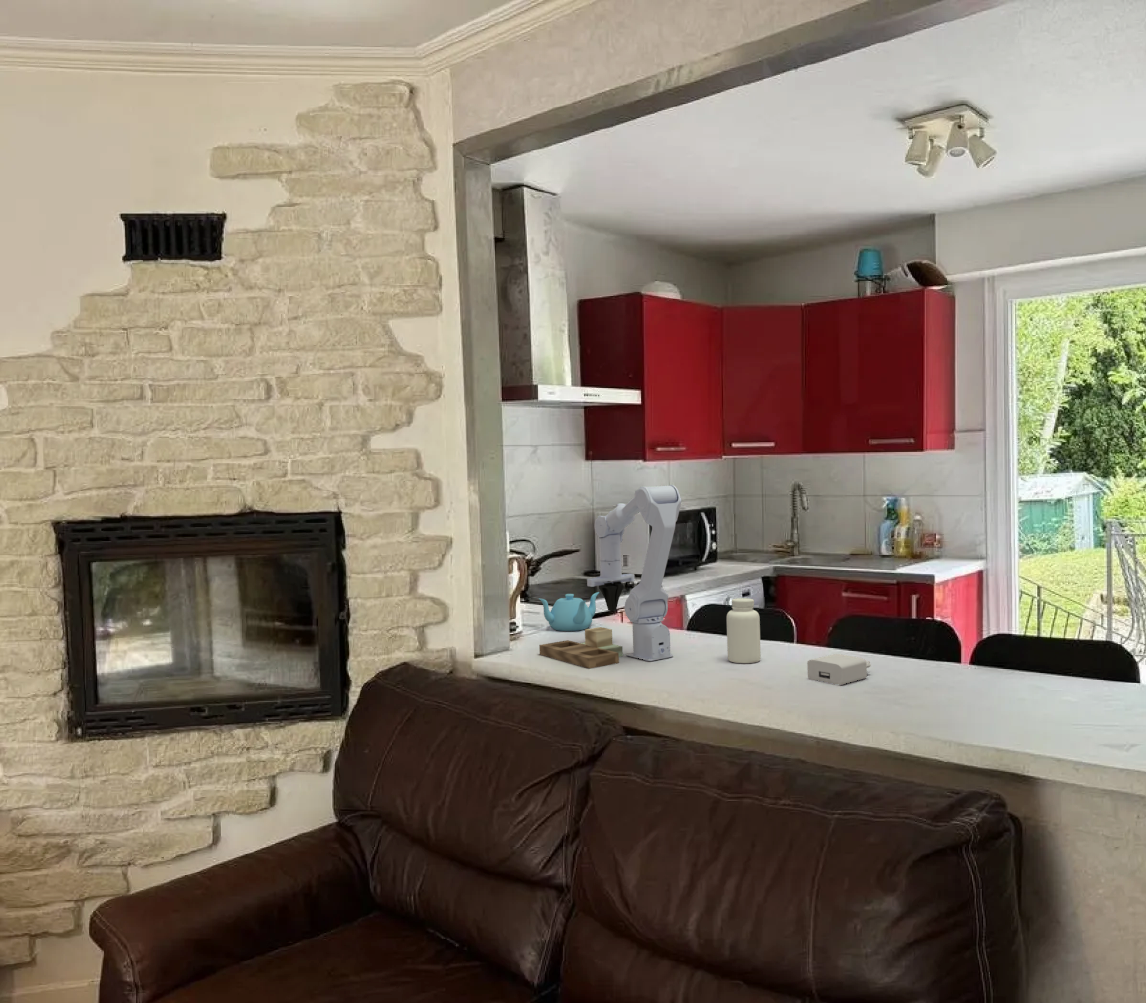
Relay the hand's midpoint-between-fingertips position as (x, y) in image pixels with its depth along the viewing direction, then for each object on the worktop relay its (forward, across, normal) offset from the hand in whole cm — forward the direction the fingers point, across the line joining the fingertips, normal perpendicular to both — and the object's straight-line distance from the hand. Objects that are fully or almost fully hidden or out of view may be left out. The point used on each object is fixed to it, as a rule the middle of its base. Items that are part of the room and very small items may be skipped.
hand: (612, 610), depth 254 cm
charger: (+10, -17, +64) cm, 67 cm away
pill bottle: (+10, -12, +37) cm, 40 cm away
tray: (+9, +14, +7) cm, 18 cm away
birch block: (+7, +10, +7) cm, 14 cm away
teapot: (+10, -6, -28) cm, 30 cm away
